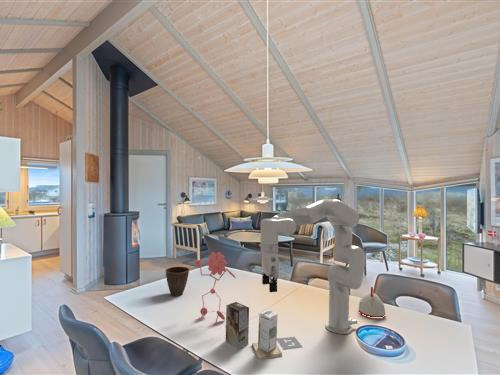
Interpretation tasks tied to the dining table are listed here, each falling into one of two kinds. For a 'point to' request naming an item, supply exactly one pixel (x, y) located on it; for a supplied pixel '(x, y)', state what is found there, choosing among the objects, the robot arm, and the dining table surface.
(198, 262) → the figurine
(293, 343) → the plaque
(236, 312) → the coffee box
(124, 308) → the dining table surface
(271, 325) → the syrup box
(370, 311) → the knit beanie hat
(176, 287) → the plant pot
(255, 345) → the tray
